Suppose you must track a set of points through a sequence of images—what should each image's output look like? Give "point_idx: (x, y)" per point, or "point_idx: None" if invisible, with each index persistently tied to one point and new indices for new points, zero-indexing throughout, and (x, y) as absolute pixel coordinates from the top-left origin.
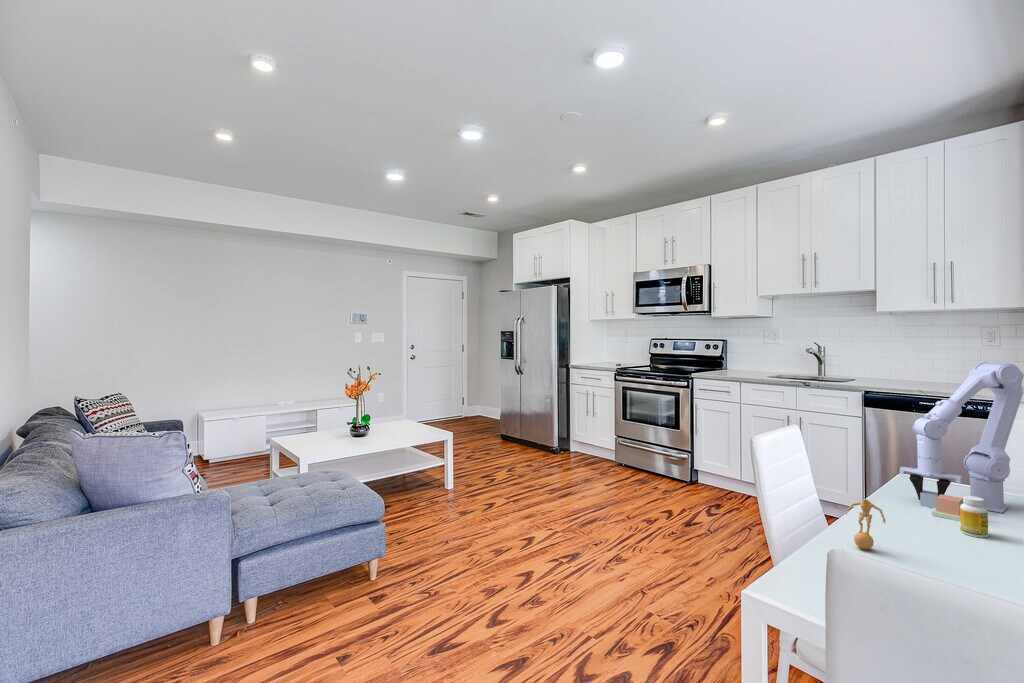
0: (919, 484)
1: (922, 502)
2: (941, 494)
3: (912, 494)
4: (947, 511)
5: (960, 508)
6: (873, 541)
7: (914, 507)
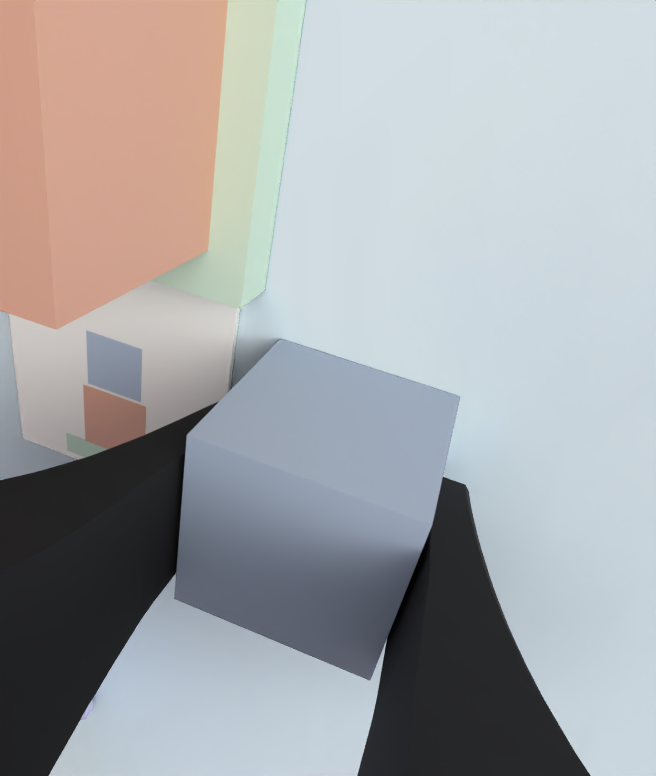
0: (408, 694)
1: (426, 417)
2: (40, 317)
3: None
4: None
5: None
6: None
7: (554, 261)
